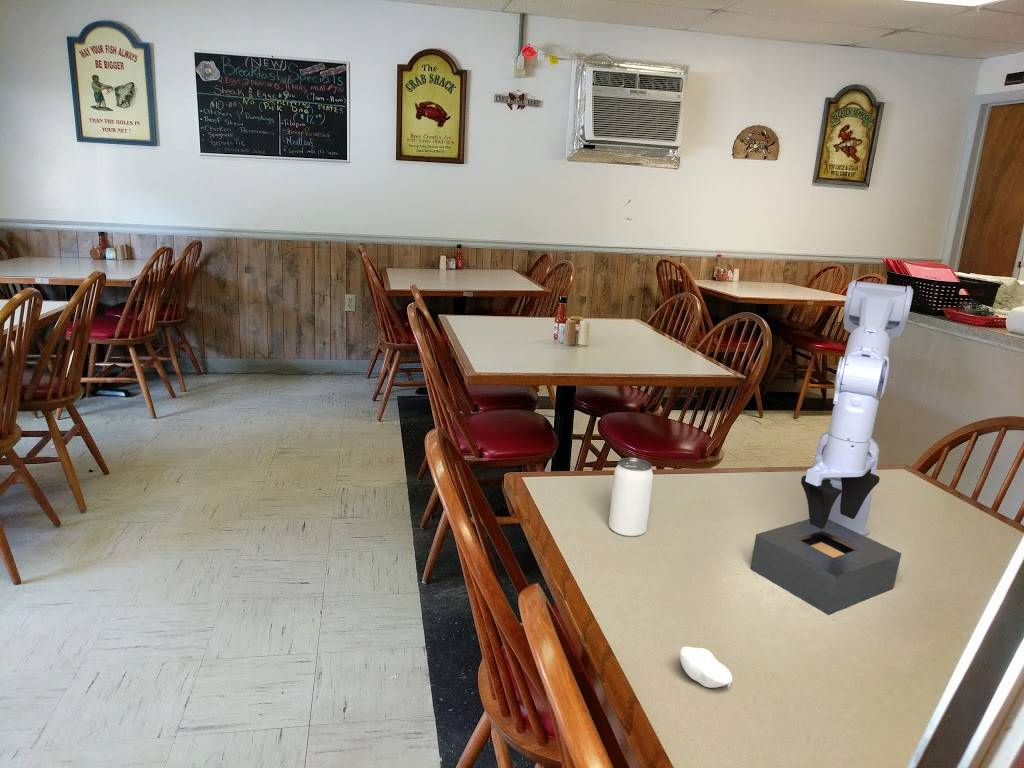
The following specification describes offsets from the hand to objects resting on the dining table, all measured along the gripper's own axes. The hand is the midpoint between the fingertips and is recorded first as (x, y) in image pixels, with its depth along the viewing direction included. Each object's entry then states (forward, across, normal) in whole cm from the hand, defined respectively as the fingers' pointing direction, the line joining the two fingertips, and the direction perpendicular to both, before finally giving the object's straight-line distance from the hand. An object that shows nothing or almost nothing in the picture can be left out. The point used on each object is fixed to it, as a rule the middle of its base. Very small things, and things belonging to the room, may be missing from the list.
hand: (832, 520), depth 110 cm
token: (+9, 0, 0) cm, 9 cm away
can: (+10, +17, -26) cm, 33 cm away
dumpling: (+10, +35, +9) cm, 38 cm away
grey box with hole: (+10, 0, 0) cm, 10 cm away
